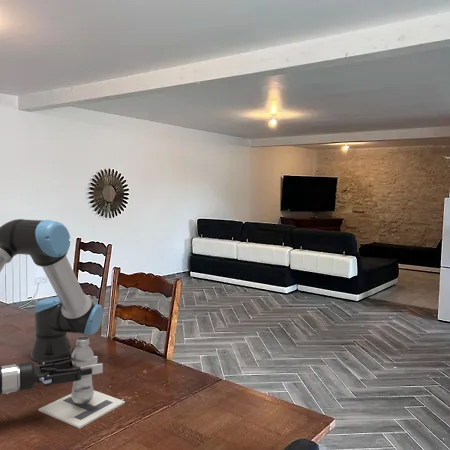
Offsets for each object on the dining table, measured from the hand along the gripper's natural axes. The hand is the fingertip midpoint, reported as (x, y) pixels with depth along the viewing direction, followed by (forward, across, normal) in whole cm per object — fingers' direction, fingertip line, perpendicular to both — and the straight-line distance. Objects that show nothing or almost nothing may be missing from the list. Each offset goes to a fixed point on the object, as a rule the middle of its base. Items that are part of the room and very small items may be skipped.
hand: (99, 364), depth 139 cm
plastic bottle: (-5, 0, -11) cm, 12 cm away
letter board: (-5, 0, -13) cm, 14 cm away
